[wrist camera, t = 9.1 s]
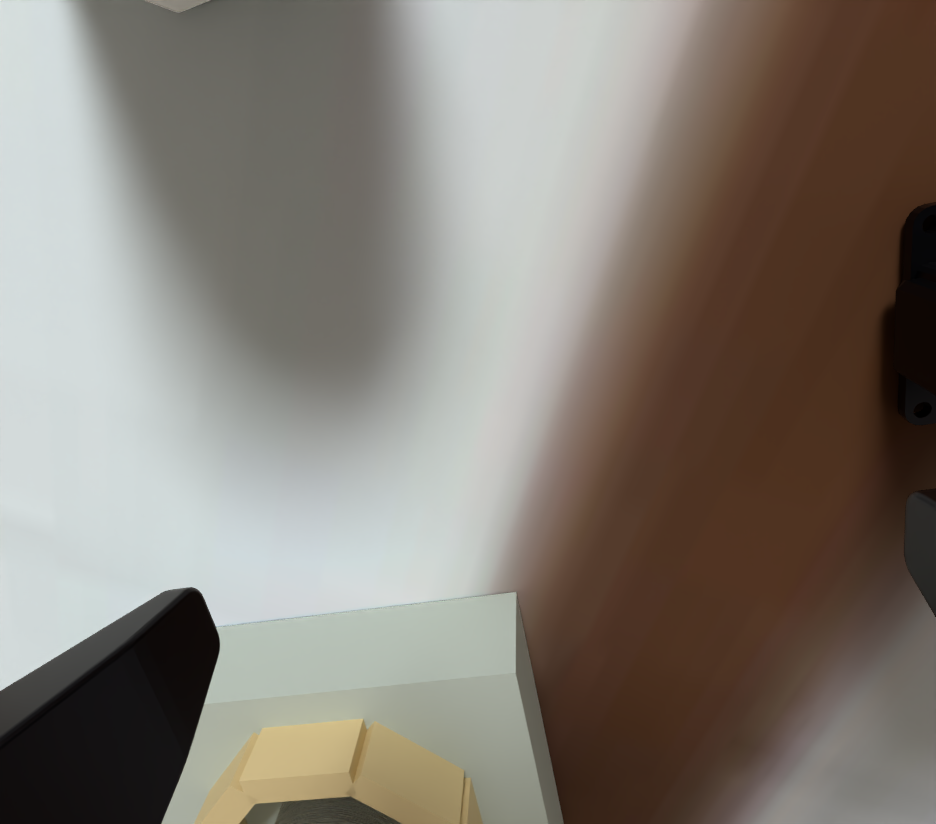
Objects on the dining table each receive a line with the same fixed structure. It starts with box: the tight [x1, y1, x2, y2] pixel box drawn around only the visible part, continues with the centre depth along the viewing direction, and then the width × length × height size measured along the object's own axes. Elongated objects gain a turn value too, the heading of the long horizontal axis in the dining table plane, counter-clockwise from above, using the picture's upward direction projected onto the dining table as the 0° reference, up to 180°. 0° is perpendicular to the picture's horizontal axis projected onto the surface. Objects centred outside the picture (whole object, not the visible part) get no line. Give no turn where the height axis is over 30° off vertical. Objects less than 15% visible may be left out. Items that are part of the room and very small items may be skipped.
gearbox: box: [162, 592, 563, 824], centre depth 25 cm, size 17×12×6 cm
